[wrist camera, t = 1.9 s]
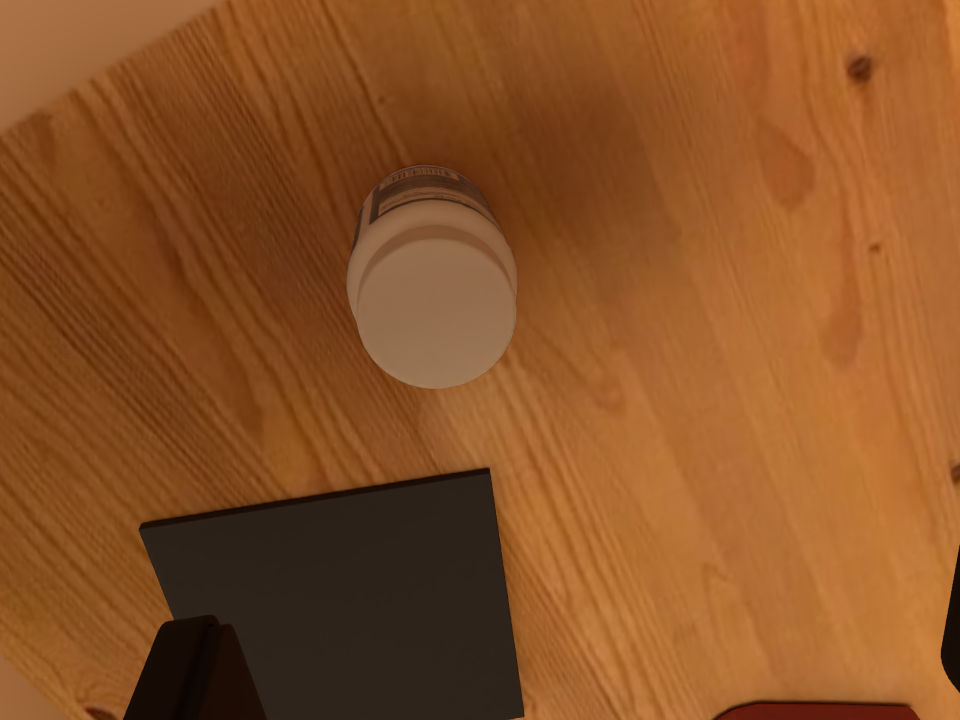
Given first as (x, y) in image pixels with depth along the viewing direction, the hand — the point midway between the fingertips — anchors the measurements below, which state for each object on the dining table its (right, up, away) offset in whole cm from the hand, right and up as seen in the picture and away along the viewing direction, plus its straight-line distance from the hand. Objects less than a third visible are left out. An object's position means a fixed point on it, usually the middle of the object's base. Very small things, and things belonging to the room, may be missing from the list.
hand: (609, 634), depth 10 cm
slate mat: (-7, -8, +23) cm, 26 cm away
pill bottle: (-4, +8, +17) cm, 19 cm away
